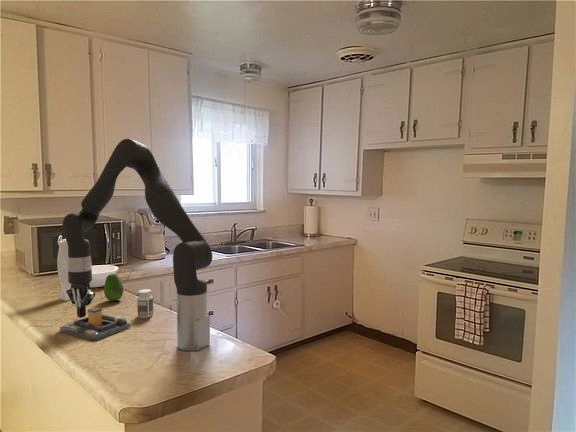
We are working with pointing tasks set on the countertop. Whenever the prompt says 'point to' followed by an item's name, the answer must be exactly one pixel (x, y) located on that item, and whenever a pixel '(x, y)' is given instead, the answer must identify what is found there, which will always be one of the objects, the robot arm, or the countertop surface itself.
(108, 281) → the avocado
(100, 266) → the bowl
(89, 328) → the breaker panel
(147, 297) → the pill bottle
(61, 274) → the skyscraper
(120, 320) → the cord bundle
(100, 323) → the lever
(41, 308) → the countertop surface
